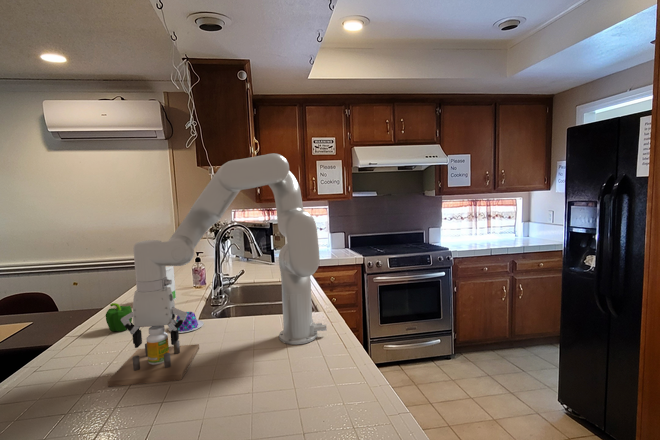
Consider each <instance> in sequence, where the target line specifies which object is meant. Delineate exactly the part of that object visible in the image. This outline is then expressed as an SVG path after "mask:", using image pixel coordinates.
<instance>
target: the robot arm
mask: <svg viewBox="0 0 660 440" xmlns="http://www.w3.org/2000/svg"><path fill="white" fill-rule="evenodd" d="M264 186H269V188H270V189H271V191H272V194H273V197H274V201H275V210H276V218H277V228H278V229H277V230H278V231H279V233H280V234H281V235H282V236H283V237H285V238H286V243H285V244H284V245H283V246H282V247H281V249H280V250H279V254H278V266H279V270H280V271H279V272H280V278H281V279H280V280H281V302H282V303H281V304H282V321H283V324H282V325H283V330H282V331H280V332H279V334H278V335H279V336H278V338H279V340H280V341H281V342H282V343H285V344H288V345H303V344H307V343H310V342H313V341H315V340H316V339H317V337H318V332H324V331H327V329H328V328H327V324H323V323H322V322H318V323H316V322H314V319H313V311H312V310H313V309H312V308H313V307H312V304H313V303H312V283H311V276H313V275H314V274H315V273H316V272H317V270H318V268H319V265H320V246H319V235H318V229H317V225H316V221H315V219H314V217H313V216H312V214H310V212H308V211H306V210H304V206H303V205H304V204H303V199H302V191H301V188H300V184H299V182H298V180H297V178H296V176H295V175H294V174H293V173H292V171H290V164H289V162H288V160H287V158H285V157H284V156H283V155H281V154H279V153H267V154H262V155H255V156H252V157H246V158H240V159H232V160H229V161H227V162H225V163H223V164H222V165H221V166H220V167H219V168H218V170H217V171H216V172H215V173H214V175H213V177H212V178H211V179H210V181H209V182H208V183H207V185H206V186H205V187H204V189H203V191H202V192H201V193H200V195H199V196H198V198H197V199H196V200H195V202H193V204H192V206H191V208H190V210H189V212H188V213H187V214H186V216H185V217H184V219H183V220H182V221H181V223H180V224H179V226H178V227H177V228H176V229H175V231H174V232H173V233H172V235H171V236H170V238H169V240H167V241H161V240H159V239H151V240H150V239H149V240H141V241H138V242H136V243H135V244H134V245H133V259H134V271H135V273H134V274H135V282H136V283H135V284H136V285H135V286H136V290H135V291H134V292H133V293H134V294H133V302H132V312H131V313H129V314H128V315H126V316H124V317H123V318H121V322H122V323H123V324H124V325H125V328H126V329H127V331H128V332H129V333H130V335H132V344H133V345H134V349H137V348H138V349H139V347H140V346H141V345H142V344H143V336H142V330H141V329H140V328H145V327H148V328H150V327H152V326H163V325H164V326H167V327H168V328H169V327H170V328H171V329H172V331H171V332H170V331H169V332H170V344H171V346H174V345H175V343H176V342H177V340H179V339H180V335H179V333H178V332H179V331H178V328H179V327H180V326H181V324H182V323H183V322H184V320H185V318H186V316H187V313H186V312H187V311H184V310H181V309H179V308H176V305H175V300H174V299H173V294H172V291H171V288H170V287H167V286H168V285H171V284H172V280H169V279H167V277H166V267H169V266H174V267H181V266H185V265H188V264H189V263H190V262H191V261H192V260H193V258H194V255H195V248H196V247H197V245H198V244H199V242H200V240H202V238H203V237H204V236H205V234H206V233H207V232H208V231H209V229H211V228H212V227H213V226H214V225H215V224H217V223H218V222H219V221H220V220H221V219H222V218H223V216H224V215H225V213H226V211H228V210H229V209H228V208H229V207H230V206H231V204H232V203H233V202H234V200H235V199H236V198H237V196H238V194H239V193H240V192H241V191H242V190H249V189H254V188H259V187H264ZM177 315H178V316H180V319H179V321H178V322H177V321H176V318H177ZM130 318H132V322H133V323H132V322H130V321H129V319H130Z"/></svg>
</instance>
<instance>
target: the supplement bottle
mask: <svg viewBox="0 0 660 440" xmlns="http://www.w3.org/2000/svg"><path fill="white" fill-rule="evenodd" d="M148 334H149V335H147V336H146V343H147V351H148V362H149V364H152V365H156V364H161V363H164V354H165V353H169V347H170V346H169V335H168V333H167V332H166V331H165V325H163V326H150V327H148Z"/></svg>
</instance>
